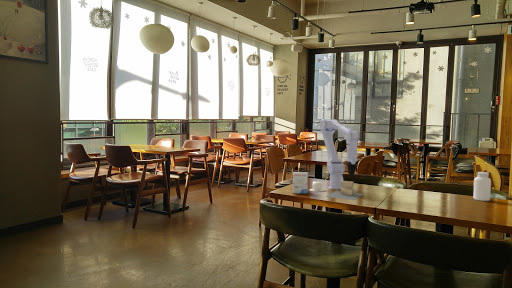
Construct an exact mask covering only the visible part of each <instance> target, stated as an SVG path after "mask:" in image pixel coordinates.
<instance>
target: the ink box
mask: <svg viewBox="0 0 512 288" xmlns="http://www.w3.org/2000/svg"><path fill="white" fill-rule="evenodd" d="M308 175H309V172H307V171H306V172H302V171H301V172H300V171H299V172H296V171H293V172H292V194H304V195H305V194H306V195H307V194H308V181H309V176H308Z"/></svg>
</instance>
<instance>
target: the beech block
mask: <svg viewBox="0 0 512 288" xmlns="http://www.w3.org/2000/svg"><path fill="white" fill-rule="evenodd" d="M354 187H355V186H354V181H350V180H349V181H347V180H343V181H342V182H341V189H340V191H341V194H345V195H353V193H354Z"/></svg>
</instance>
